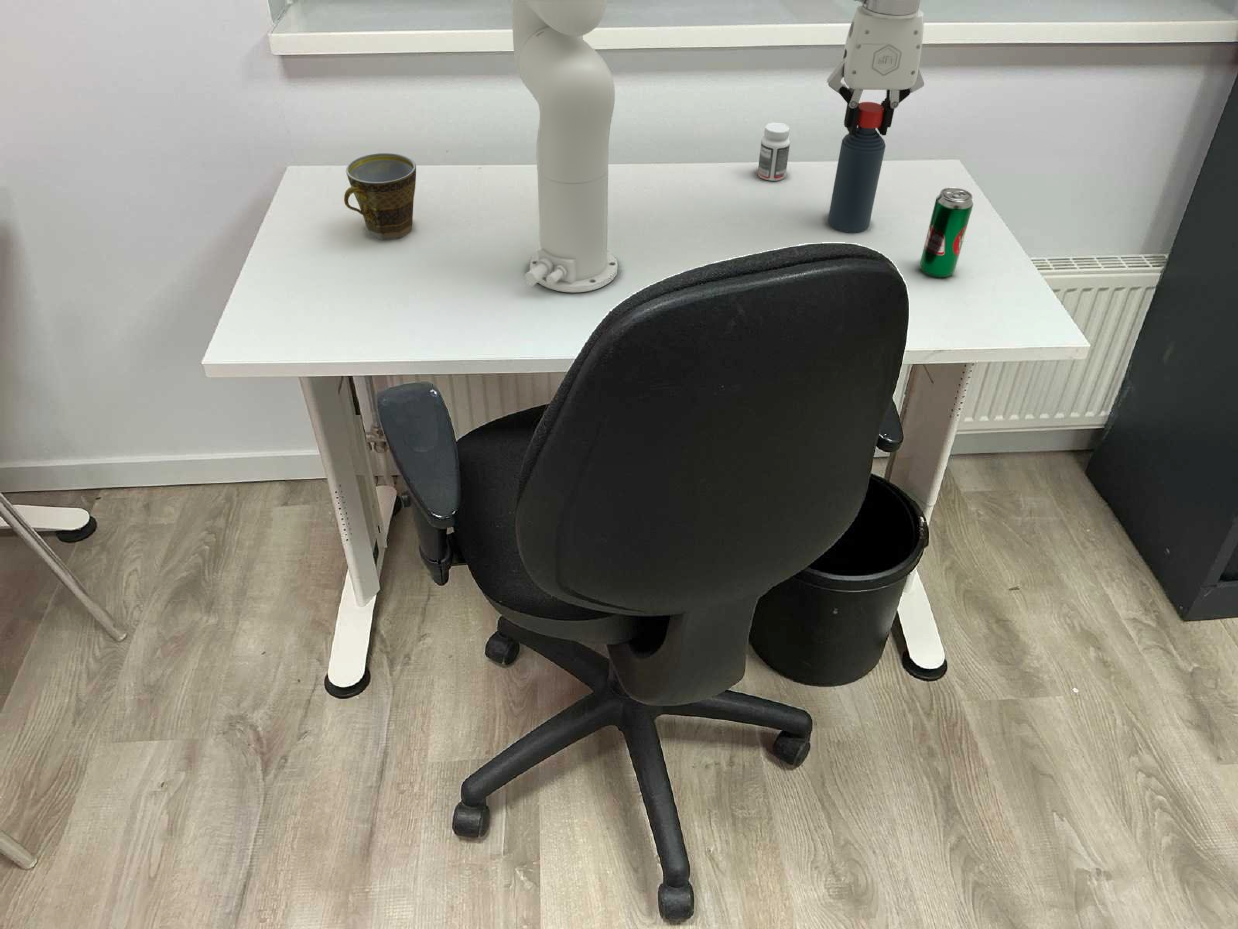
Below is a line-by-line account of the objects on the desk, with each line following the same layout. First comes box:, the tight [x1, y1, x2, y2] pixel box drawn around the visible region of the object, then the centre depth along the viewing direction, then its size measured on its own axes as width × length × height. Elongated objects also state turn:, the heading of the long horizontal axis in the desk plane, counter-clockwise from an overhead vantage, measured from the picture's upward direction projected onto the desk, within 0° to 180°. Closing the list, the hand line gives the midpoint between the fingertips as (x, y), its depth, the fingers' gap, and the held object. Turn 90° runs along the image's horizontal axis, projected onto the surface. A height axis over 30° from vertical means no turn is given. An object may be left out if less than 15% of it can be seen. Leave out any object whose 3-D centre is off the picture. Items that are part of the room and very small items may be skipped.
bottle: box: [827, 126, 887, 234], centre depth 150 cm, size 6×6×18 cm
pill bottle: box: [757, 122, 791, 182], centre depth 165 cm, size 5×5×8 cm
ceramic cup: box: [343, 152, 417, 241], centre depth 147 cm, size 13×10×10 cm
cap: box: [857, 101, 884, 129], centre depth 144 cm, size 4×4×2 cm
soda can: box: [919, 187, 974, 279], centre depth 141 cm, size 5×5×12 cm
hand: (866, 130), depth 146 cm, fingers closed on cap, 3 cm apart
